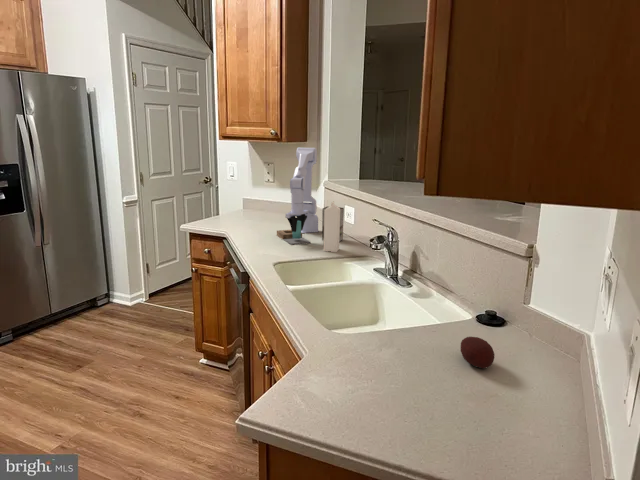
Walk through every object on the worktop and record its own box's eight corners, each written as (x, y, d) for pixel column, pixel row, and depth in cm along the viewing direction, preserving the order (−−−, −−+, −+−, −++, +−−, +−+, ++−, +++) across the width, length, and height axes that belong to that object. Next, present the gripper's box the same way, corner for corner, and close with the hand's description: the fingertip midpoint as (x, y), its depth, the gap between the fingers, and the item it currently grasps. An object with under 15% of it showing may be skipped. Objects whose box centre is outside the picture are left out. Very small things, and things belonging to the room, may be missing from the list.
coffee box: (343, 239, 230) (344, 207, 226) (338, 242, 225) (339, 209, 221) (326, 237, 234) (327, 205, 230) (321, 240, 228) (322, 207, 224)
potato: (471, 375, 104) (474, 350, 103) (451, 354, 114) (454, 331, 113) (501, 372, 106) (504, 348, 104) (479, 352, 115) (481, 329, 114)
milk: (323, 251, 208) (324, 202, 202) (326, 248, 213) (327, 200, 208) (336, 252, 206) (337, 203, 201) (339, 249, 212) (340, 201, 207)
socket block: (295, 234, 240) (295, 229, 240) (302, 238, 231) (302, 233, 231) (276, 235, 236) (276, 230, 236) (283, 239, 227) (283, 234, 227)
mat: (302, 238, 230) (302, 237, 230) (310, 243, 221) (310, 242, 221) (283, 240, 226) (283, 238, 226) (290, 244, 218) (290, 243, 217)
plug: (297, 236, 226) (297, 220, 225) (302, 237, 224) (303, 221, 222) (290, 237, 224) (290, 221, 222) (296, 239, 221) (296, 222, 219)
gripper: (301, 200, 227) (300, 227, 231) (280, 203, 216) (280, 231, 220) (312, 201, 223) (311, 229, 226) (291, 205, 212) (291, 234, 215)
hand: (297, 230), depth 223 cm, fingers closed on plug, 4 cm apart
